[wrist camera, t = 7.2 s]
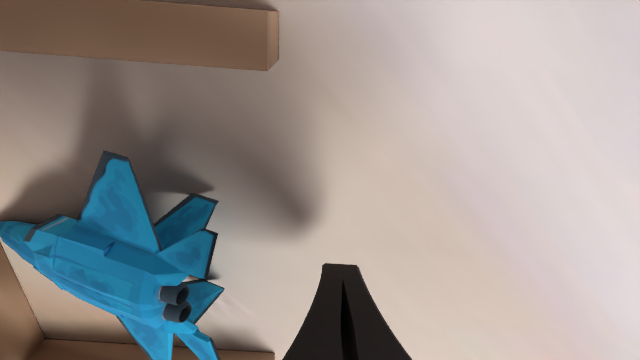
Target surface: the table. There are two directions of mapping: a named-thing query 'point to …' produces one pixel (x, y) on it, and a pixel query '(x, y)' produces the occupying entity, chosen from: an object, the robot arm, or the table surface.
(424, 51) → the table surface
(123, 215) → the toy airplane
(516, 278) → the table surface
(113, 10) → the brown wooden u shape
